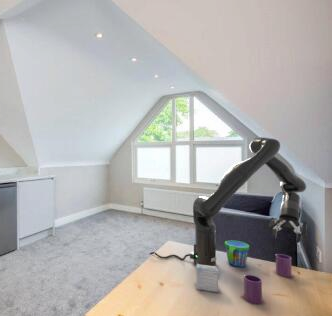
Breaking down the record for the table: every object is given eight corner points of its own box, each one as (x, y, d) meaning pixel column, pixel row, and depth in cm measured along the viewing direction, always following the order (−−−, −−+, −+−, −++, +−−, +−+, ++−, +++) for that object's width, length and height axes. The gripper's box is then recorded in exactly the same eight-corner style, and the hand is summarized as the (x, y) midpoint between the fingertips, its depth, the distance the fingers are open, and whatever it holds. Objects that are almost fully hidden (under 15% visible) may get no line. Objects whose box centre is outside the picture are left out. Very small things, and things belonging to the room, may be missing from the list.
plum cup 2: (274, 274, 111) (274, 256, 111) (277, 270, 115) (276, 253, 115) (290, 278, 107) (290, 260, 107) (292, 274, 111) (292, 256, 111)
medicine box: (216, 287, 101) (216, 266, 101) (218, 293, 96) (218, 271, 96) (196, 284, 103) (195, 263, 103) (196, 289, 99) (196, 268, 99)
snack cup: (234, 256, 130) (234, 237, 130) (255, 263, 121) (255, 243, 121) (217, 264, 122) (217, 243, 122) (240, 272, 113) (239, 250, 113)
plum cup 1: (242, 299, 92) (242, 278, 92) (246, 293, 96) (246, 273, 96) (259, 306, 88) (259, 283, 88) (263, 299, 92) (263, 278, 92)
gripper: (271, 205, 127) (266, 232, 119) (307, 209, 116) (305, 239, 108) (273, 213, 130) (268, 240, 122) (308, 218, 120) (306, 247, 112)
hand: (285, 239), depth 115 cm, fingers open, 8 cm apart
